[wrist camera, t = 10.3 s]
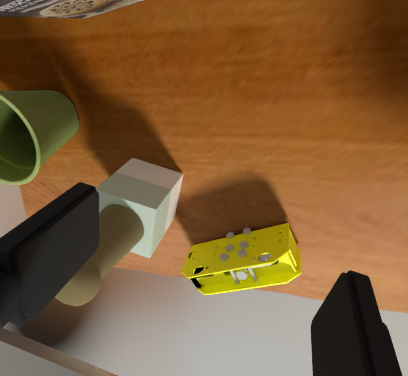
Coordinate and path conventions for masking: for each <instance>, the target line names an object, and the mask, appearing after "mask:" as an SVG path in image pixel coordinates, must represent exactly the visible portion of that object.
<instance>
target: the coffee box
mask: <svg viewBox="0 0 408 376" xmlns="http://www.w3.org/2000/svg"><path fill="white" fill-rule="evenodd" d="M139 1H143V0H0V16H8V17H50V18H89V17H92V16H95V15H98V14H102V13H105V12H108V11H111V10H114V9H117V8H120V7H124V6H127V5H130V4H133V3H136V2H139Z"/></svg>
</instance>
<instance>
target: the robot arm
mask: <svg viewBox="0 0 408 376" xmlns="http://www.w3.org/2000/svg"><path fill="white" fill-rule="evenodd" d="M98 246H99V193H98V192H97V191H96V188H95V187H94V186H91V185H88V184H85V183H82V182H79V183H77V184H76V185H75V186H73V187H72V188H70V189H69V190H67V191H66V192H65V193H63V194H62V195H60V196H59V197H58V198H56V199H55V200H53V201H52V202H51V203H49V204H48V205H46V206H45V207H43V208H42V209H41V210H39V211H38V212H36V213H35V214H34V215H32V216H31V217H29V218H28V219H27V220H25V221H24V222H22V223H21V224H20V225H18V226H17V227H15V228H14V229H12V230H11V231H10V232H8V233H7V234H5V235H4V236H3V237H1V238H0V376H117V375H115V374H112V373H110V372H108V371H105V370H103V369H101V368H98V367H96V366H94V365H91V364H89V363H86V362H84V361H82V360H79V359H77V358H74V357H72V356H70V355H67V354H65V353H62V352H60V351H58V350H55V349H53V348H50V347H48V346H45V345H43V344H41V343H38V342H36V341H34V340H31V339H28V338H26V337H24V336H21V335H19V334H16V333H13V332H11V331H8V330H6V329H3V328H2V327H4V326H5V325H6V324H7V323H8V322H11V323H13V324H16V325H18V326H21V327H23V326H24V325H25V324H26V323H27V322H28V321H29V319H31V320H32V319H34V318H36V317H37V316H38V315H39V314H40V313H41V311H42V310H43V309H44V308H45V307H46V306H47V305H48V304H49V303H50V301H51V300H52V299H53V298H54V297H55V296H56V295H57V294H58V293H59V291H60V290H61V289H62V288H63V287H64V286H65V285H66V284H67V283H68V282H69V280H70V279H71V278H72V277H73V276H74V275H75V274H76V273H77V272H78V270H79V269H80V268H81V267H82V266H83V265H84V264H85V263H86V262H87V260H88V259H89V258H90V257H91V256H92V255H93V254H94V253H95V251H96V250H97V248H98ZM311 344H312V365H313V376H402V373H401V370H400V367H399V363H398V360H397V357H396V353H395V350H394V347H393V343H392V340H391V337H390V334H389V330H388V328H387V326H386V325H385V324H384V323H383V322H382V319H381V316H380V313H379V309H378V306H377V302H376V299H375V295H374V292H373V288H372V285H371V282H370V279H369V277H368V276H366V275H363V274H360V273H357V272H354V271H348V272H347V273H341V275H340V276H339V278H338V279H337V281H336V283H335V284H334V286H333V288H332V289H331V291H330V292H329V294H328V296H327V297H326V299H325V300H324V302H323V304H322V305H321V307H320V308H319V310H318V312H317V313H316V315H315V317H314V318H313V320H312V324H311Z"/></svg>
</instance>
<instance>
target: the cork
mask: <svg viewBox="0 0 408 376" xmlns="http://www.w3.org/2000/svg"><path fill="white" fill-rule="evenodd" d="M143 235H144V227H143V223H142V222H141V220H140V218H139V217H138V216H137V215H136V214H135V213H134V212H133V211H132V210H130V209H129V208H127V207H125V206H122V205H117V204H111V205H108V206H106V207H105V208H104V209H103V210H102V211H101V212H100V214H99V246H98V248H97V250H96V251H95V253H94V254H93V255H92V256H91V257H90V258H89V259H88V260H87V262H86V263H85V264H84V265H83V266H82V267H81V268H80V269H79V270H78V272H77V273H76V274H75V275H74V276H73V277H72V278H71V279H70V280H69V282H68V283H67V284H66V285H65V286H64V287H63V288H62V289H61V290H60V291H59V293H58V294H57V295H56V296H55V298H56V299H58V300H59V301H61V302H62V303H65V304H67V305H73V306H80V305H83V304H85V303H87V302H89V301H90V300H91V299H92V298H94V296H95V295H96V294H97V292H98V290H99V288H100V286H101V278H103V276H105V274H107V273H108V272H109V271H110V270H111V269H112V268H113V267H114V266H115V265H116V264H117V263H118V262H119V261H120V260H121V259H122V258H123V257H124V256H125V255H126V254H127V253H128V252H129V251H130V250H131V249H132V248H133V247H134V246H135V245H136V244H137V243H138V242H139V241H140V240H141V239H142V237H143Z"/></svg>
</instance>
